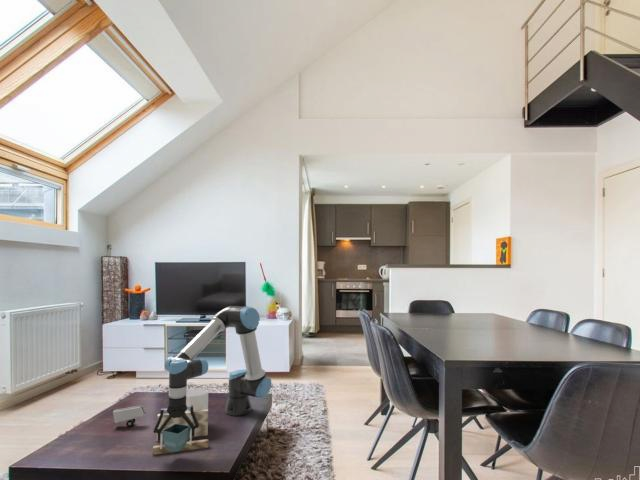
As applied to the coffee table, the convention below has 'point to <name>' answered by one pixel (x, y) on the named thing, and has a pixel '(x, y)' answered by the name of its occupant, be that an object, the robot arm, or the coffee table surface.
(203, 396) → the container
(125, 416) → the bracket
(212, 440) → the coffee table surface
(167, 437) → the flower pot
